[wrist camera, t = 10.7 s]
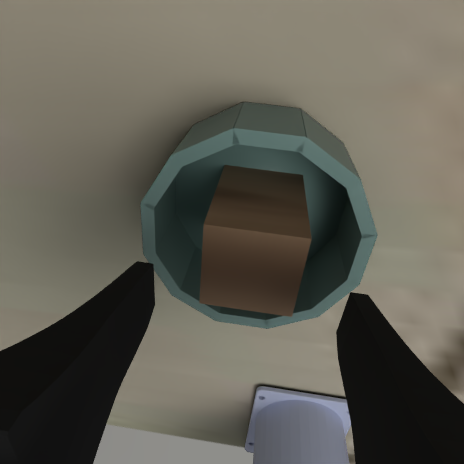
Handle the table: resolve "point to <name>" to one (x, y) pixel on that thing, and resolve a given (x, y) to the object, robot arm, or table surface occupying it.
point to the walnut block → (255, 241)
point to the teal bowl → (265, 158)
